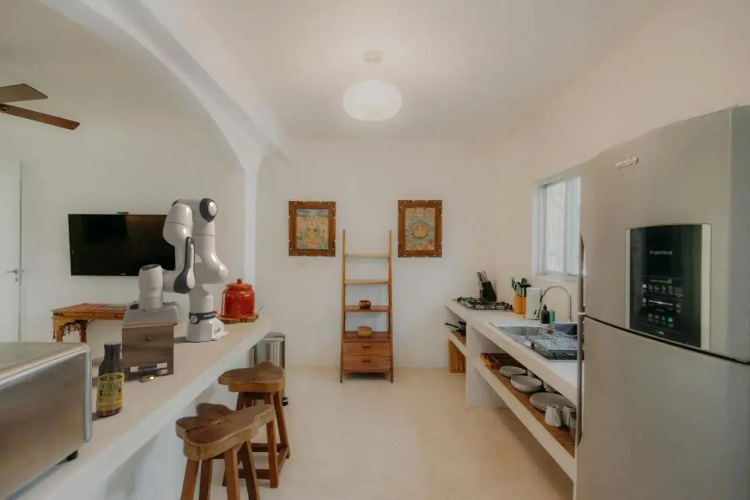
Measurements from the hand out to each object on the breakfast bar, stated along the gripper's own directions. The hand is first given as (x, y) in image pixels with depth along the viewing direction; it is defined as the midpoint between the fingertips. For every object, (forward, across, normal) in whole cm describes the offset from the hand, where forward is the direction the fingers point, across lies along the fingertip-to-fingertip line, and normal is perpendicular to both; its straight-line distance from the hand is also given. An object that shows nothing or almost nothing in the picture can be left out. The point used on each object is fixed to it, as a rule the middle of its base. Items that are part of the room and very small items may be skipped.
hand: (152, 335), depth 158 cm
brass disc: (+9, +1, +30) cm, 31 cm away
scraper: (+9, +1, +7) cm, 12 cm away
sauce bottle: (+7, +9, +55) cm, 56 cm away
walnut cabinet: (+9, +1, +22) cm, 24 cm away
